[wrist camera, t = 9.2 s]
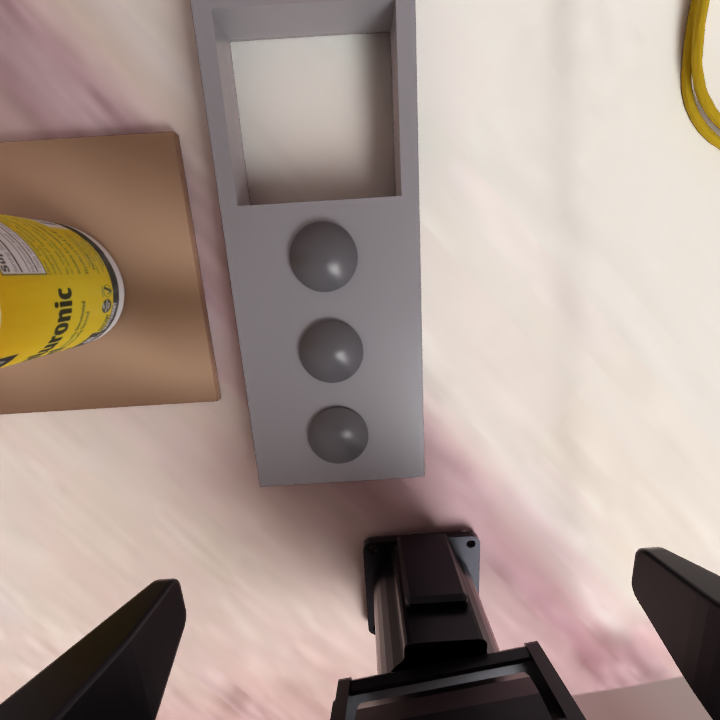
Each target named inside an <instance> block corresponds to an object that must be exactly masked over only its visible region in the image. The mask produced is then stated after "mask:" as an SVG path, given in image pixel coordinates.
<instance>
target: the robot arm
mask: <svg viewBox="0 0 720 720" xmlns="http://www.w3.org/2000/svg"><path fill="white" fill-rule="evenodd" d="M469 540H473V541H472V542H470V543H467V542H468V541H469ZM371 546H374V547H375V548H373V549H371V548H369V547H371ZM363 553H364V568H365V582H366V597H367V611H368V626H369V631H370V632H371V633H372V634H374V635H376V652H377V670H378V675H374V676H369V677H364V678H358V679H353V680H352V678H351V677H350V678H344V679H339V681H338V687H337V693H336V699H335V701H333V706H332V712H331V718H330V720H586V719H585V717H584V715H583V714H582V712H581V711H580V709H579V707H578V706H577V704H576V702H575V701H574V699H573V698H572V696H571V694H570V693H569V691H568V690H567V688H566V686H565V685H564V683H563V682H562V680H561V678H560V677H559V675H558V674H557V672H556V670H555V669H554V667H553V666H552V664H551V662H550V661H549V659H548V657H547V656H546V654H545V653H544V651H543V649H542V648H541V646H540V645H539V643H538V642H537V641H534V642H529V643H524V645H525V646H523V647H518V648H513V649H507V650H502V651H499V648H498V645H497V643H496V640H495V637H494V635H493V632H492V629H491V627H490V624H489V621H488V619H487V616H486V613H485V611H484V608H483V606H482V603H481V600H480V598H479V564H480V541H479V539H478V537H477V535H476V534H475V533H474V532H470V531H466V532H450V533H434V534H417V535H401V536H384V537H371V538H367V539H366V540H365V541H364V543H363ZM632 588H633V591H634V594H635V596H636V598H637V600H638V601H639V603H640V605H641V606H642V608H643V610H644V611H645V613H646V615H647V616H648V618H649V620H650V621H651V623H652V625H653V626H654V628H655V630H656V631H657V633H658V635H659V636H660V638H661V640H662V641H663V643H664V645H665V646H666V648H667V650H668V651H669V653H670V655H671V656H672V658H673V660H674V661H675V663H676V665H677V666H678V668H679V670H680V671H681V673H682V675H683V676H684V678H685V679H686V681H687V682H688V684H689V685H690V687H691V689H692V690H693V692H694V693H695V694H696V696H697V698H698V699H699V700H700V702H701V703H702V705H703V706H704V708H705V709H706V711H707V712H708V713H709V715H710V716H711V718H712V719H713V720H720V576H718V575H716V574H714V573H712V572H710V571H708V570H706V569H704V568H702V567H700V566H698V565H696V564H694V563H692V562H690V561H688V560H686V559H684V558H682V557H680V556H678V555H676V554H674V553H672V552H670V551H668V550H666V549H664V548H660V547H651V548H640V549H638V551H637V552H636V554H635V561H634V568H633V575H632ZM185 622H186V608H185V604H184V599H183V595H182V590H181V586H180V583H179V581H178V580H177V579H159V580H156V581H154V582H152V583H151V584H150V585H148V586H147V587H146V588H145V589H143V590H142V591H141V592H140V593H138V594H137V595H136V596H135V597H133V598H132V599H131V600H130V601H128V602H127V603H126V604H125V605H123V606H122V607H121V608H120V609H118V610H117V611H116V612H115V613H113V614H112V615H111V616H110V617H108V618H107V619H106V620H105V621H103V622H102V623H101V624H100V625H98V626H97V627H96V628H95V629H93V630H92V631H91V632H90V633H88V634H87V635H86V636H85V637H83V638H82V639H81V640H80V641H78V642H77V643H76V644H75V645H73V646H72V647H71V648H70V649H69V650H67V651H66V652H65V653H64V654H62V655H61V656H60V657H59V658H57V659H56V660H55V661H54V662H52V663H51V664H50V665H49V666H47V667H46V668H45V669H44V670H42V671H41V672H40V673H39V674H37V675H36V676H35V677H34V678H32V679H31V680H30V681H29V682H27V683H26V684H25V685H24V686H22V687H21V688H20V689H19V690H17V691H16V692H15V693H14V694H12V695H11V696H10V697H9V698H7V699H6V700H5V701H4V702H2V703H1V704H0V720H155V719H156V716H157V713H158V710H159V707H160V704H161V701H162V697H163V694H164V691H165V688H166V685H167V681H168V678H169V675H170V672H171V668H172V665H173V662H174V659H175V656H176V652H177V649H178V646H179V643H180V640H181V636H182V633H183V630H184V627H185Z"/></svg>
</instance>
